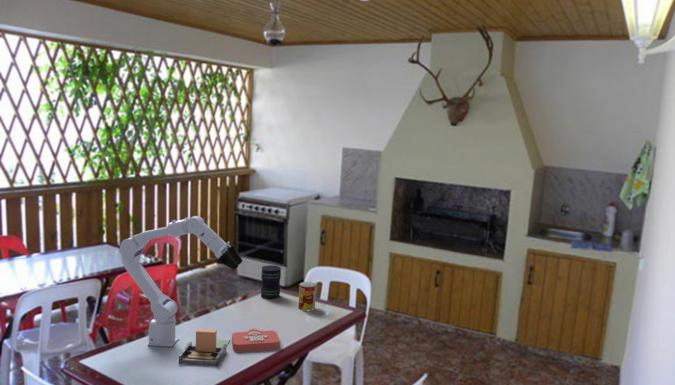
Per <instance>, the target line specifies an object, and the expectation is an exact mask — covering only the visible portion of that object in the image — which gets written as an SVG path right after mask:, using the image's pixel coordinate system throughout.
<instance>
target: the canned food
mask: <svg viewBox="0 0 675 385" xmlns="http://www.w3.org/2000/svg"><path fill="white" fill-rule="evenodd" d="M316 291H317V284H316V283H315V282H310V281H303V282H300V283H299V292H298V310H299V309H300V311H301V310H304V311H303V312H308V311H307V310H312V309H314V308H316ZM314 310H315V309H314Z"/></svg>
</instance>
